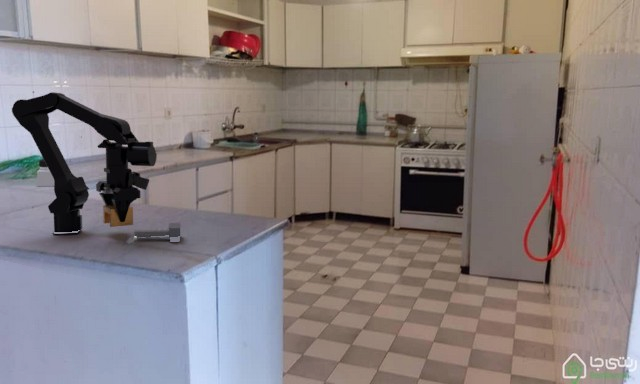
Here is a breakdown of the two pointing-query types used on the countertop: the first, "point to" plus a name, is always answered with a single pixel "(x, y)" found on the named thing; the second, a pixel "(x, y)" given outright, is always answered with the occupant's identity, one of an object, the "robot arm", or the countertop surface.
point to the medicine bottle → (44, 175)
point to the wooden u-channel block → (116, 216)
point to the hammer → (160, 231)
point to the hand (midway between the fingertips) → (118, 219)
